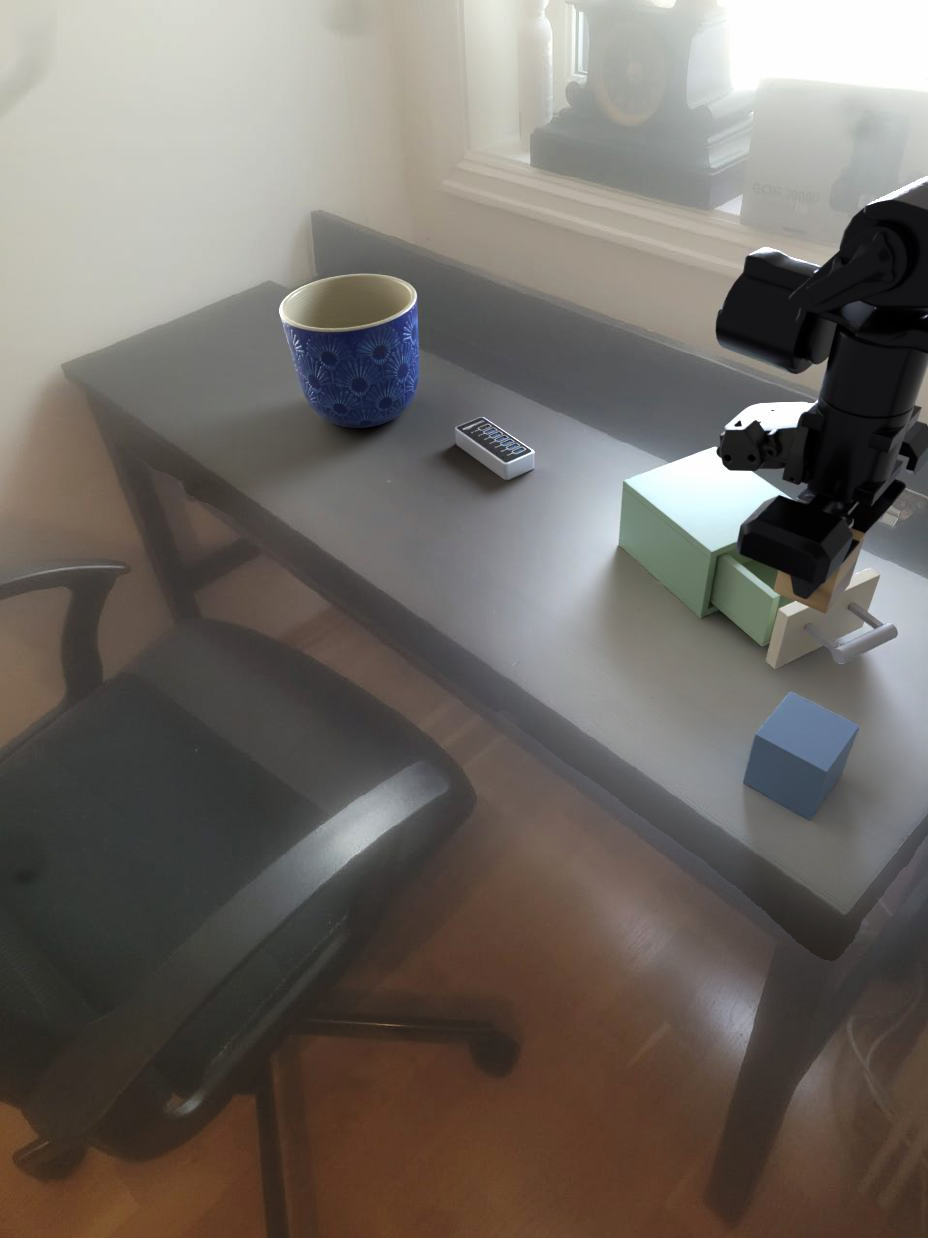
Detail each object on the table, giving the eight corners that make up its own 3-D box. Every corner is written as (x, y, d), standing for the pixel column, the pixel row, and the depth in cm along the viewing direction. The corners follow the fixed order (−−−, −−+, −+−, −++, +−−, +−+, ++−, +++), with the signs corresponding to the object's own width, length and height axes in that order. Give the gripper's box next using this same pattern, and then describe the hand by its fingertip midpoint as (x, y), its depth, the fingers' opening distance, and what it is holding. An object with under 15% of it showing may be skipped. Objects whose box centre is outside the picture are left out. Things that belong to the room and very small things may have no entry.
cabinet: (793, 577, 86) (810, 511, 81) (700, 618, 83) (711, 552, 77) (705, 509, 95) (715, 446, 90) (618, 544, 92) (622, 480, 86)
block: (849, 584, 67) (866, 533, 63) (825, 614, 64) (841, 562, 61) (797, 564, 69) (811, 513, 65) (773, 591, 67) (785, 540, 63)
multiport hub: (506, 481, 102) (505, 464, 100) (454, 443, 109) (453, 427, 107) (535, 467, 104) (535, 451, 102) (483, 431, 111) (482, 415, 109)
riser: (841, 774, 69) (860, 725, 65) (809, 820, 66) (826, 772, 62) (776, 739, 72) (790, 690, 68) (742, 782, 69) (754, 734, 65)
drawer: (903, 658, 76) (924, 605, 72) (813, 703, 73) (830, 651, 69) (767, 554, 88) (779, 503, 83) (685, 590, 85) (692, 539, 80)
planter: (361, 459, 108) (341, 343, 97) (277, 417, 117) (250, 307, 106) (454, 404, 116) (445, 292, 106) (369, 369, 125) (353, 263, 115)
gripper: (811, 313, 64) (772, 487, 75) (680, 419, 55) (657, 602, 65) (968, 352, 59) (902, 535, 69) (853, 478, 49) (796, 668, 60)
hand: (814, 580), depth 66 cm, fingers closed on block, 4 cm apart
